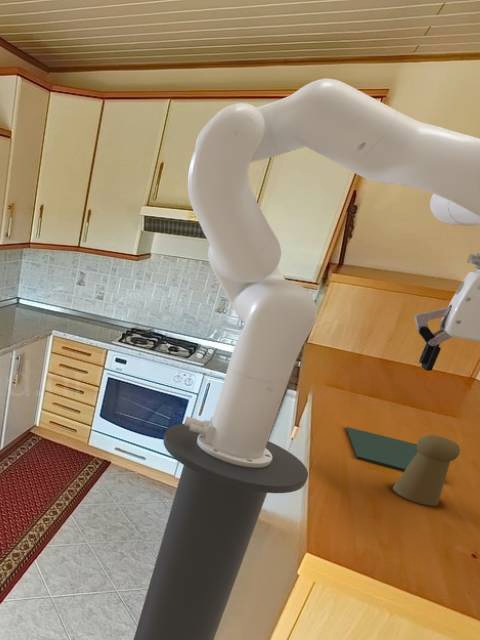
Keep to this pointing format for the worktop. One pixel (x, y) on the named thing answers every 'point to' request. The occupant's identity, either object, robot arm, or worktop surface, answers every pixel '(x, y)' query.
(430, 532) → the worktop surface
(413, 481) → the cork
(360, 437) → the side mat
